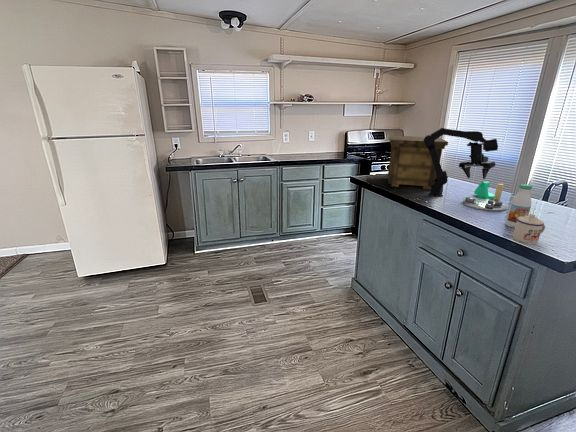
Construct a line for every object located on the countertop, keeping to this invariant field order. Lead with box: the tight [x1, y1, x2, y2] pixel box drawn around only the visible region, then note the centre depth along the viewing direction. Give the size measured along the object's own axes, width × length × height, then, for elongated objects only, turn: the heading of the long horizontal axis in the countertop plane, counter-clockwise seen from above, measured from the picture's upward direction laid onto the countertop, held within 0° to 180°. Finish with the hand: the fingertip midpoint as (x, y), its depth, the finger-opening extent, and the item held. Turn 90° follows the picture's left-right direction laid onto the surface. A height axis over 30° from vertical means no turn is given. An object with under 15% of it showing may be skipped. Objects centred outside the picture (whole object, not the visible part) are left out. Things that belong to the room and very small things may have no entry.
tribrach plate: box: [461, 196, 508, 212], centre depth 174 cm, size 22×22×3 cm
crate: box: [387, 135, 449, 190], centre depth 219 cm, size 35×35×33 cm
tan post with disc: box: [487, 183, 505, 206], centre depth 167 cm, size 16×7×11 cm, turn 141°
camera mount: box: [473, 181, 495, 200], centre depth 189 cm, size 12×8×10 cm, turn 1°
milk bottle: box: [505, 183, 533, 229], centre depth 140 cm, size 8×8×20 cm
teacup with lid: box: [512, 213, 546, 244], centre depth 126 cm, size 12×9×12 cm
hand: (476, 178), depth 183 cm, fingers open, 9 cm apart
